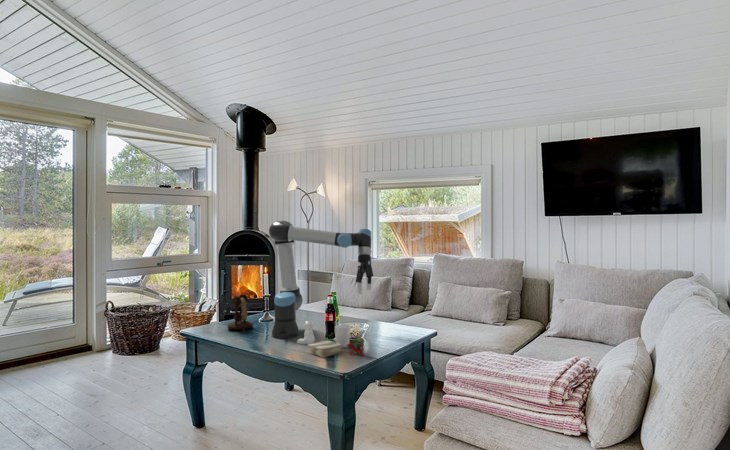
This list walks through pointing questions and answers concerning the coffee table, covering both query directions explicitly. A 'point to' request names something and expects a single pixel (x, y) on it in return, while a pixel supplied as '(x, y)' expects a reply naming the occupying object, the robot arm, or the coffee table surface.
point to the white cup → (342, 334)
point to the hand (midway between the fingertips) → (363, 291)
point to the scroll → (240, 314)
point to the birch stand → (324, 348)
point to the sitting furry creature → (307, 334)
